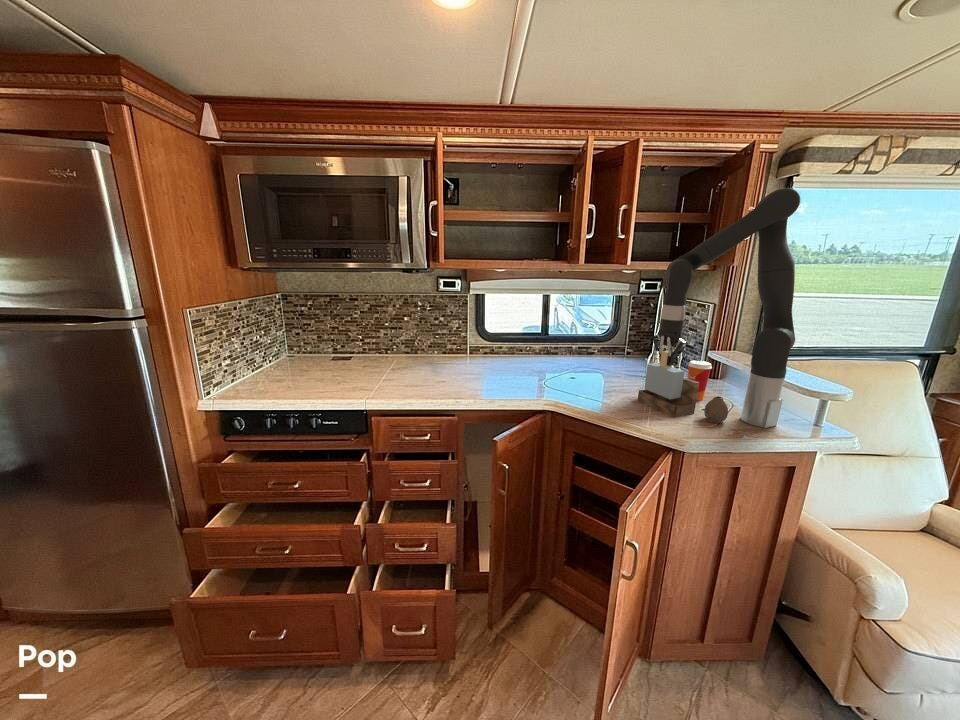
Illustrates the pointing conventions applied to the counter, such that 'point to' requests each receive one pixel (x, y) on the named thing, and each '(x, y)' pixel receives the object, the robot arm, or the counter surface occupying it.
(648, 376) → the grey block with handle
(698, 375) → the coffee cup
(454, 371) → the counter surface
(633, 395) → the counter surface
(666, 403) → the brown wooden box
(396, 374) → the counter surface
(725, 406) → the brown rounded pot shape
